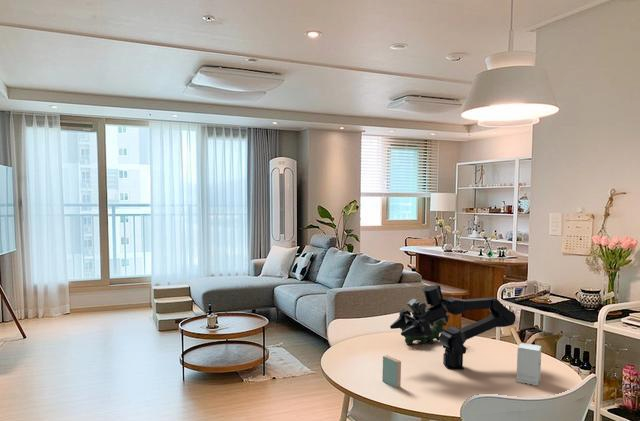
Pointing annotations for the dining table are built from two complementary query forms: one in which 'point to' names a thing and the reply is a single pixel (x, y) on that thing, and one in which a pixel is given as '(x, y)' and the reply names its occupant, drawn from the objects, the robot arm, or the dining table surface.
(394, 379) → the tile
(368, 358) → the dining table surface
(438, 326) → the toy figurine
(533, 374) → the supplement box
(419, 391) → the dining table surface
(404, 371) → the dining table surface
